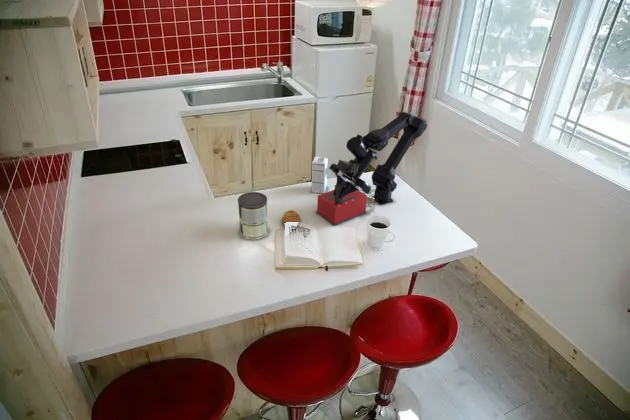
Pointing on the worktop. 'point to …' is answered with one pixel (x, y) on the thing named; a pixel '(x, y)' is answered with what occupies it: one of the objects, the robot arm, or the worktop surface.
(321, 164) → the syrup box
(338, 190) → the slider
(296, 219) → the pastry
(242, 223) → the coffee can
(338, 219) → the toaster
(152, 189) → the worktop surface
